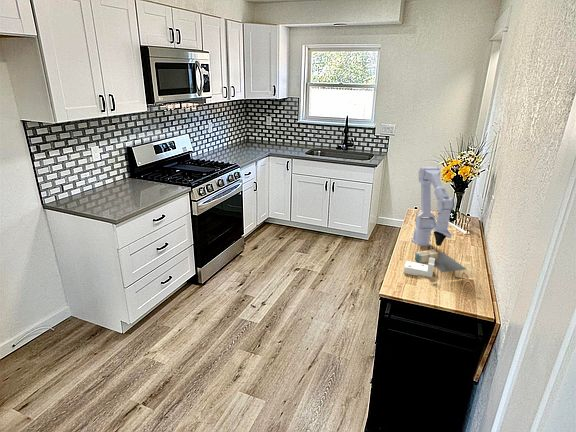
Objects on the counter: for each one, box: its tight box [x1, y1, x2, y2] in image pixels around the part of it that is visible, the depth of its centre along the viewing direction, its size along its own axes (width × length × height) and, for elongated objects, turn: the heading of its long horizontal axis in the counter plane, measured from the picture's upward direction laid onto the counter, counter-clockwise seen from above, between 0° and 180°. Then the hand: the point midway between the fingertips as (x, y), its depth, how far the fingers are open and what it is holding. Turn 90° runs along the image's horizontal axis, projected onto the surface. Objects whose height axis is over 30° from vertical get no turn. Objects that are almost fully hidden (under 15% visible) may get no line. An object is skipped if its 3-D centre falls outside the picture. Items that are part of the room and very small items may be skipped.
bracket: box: [403, 258, 435, 278], centre depth 180 cm, size 13×7×8 cm, turn 67°
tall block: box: [414, 249, 439, 264], centre depth 191 cm, size 4×4×10 cm
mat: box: [434, 252, 467, 273], centre depth 191 cm, size 19×14×1 cm
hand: (438, 245), depth 194 cm, fingers closed
